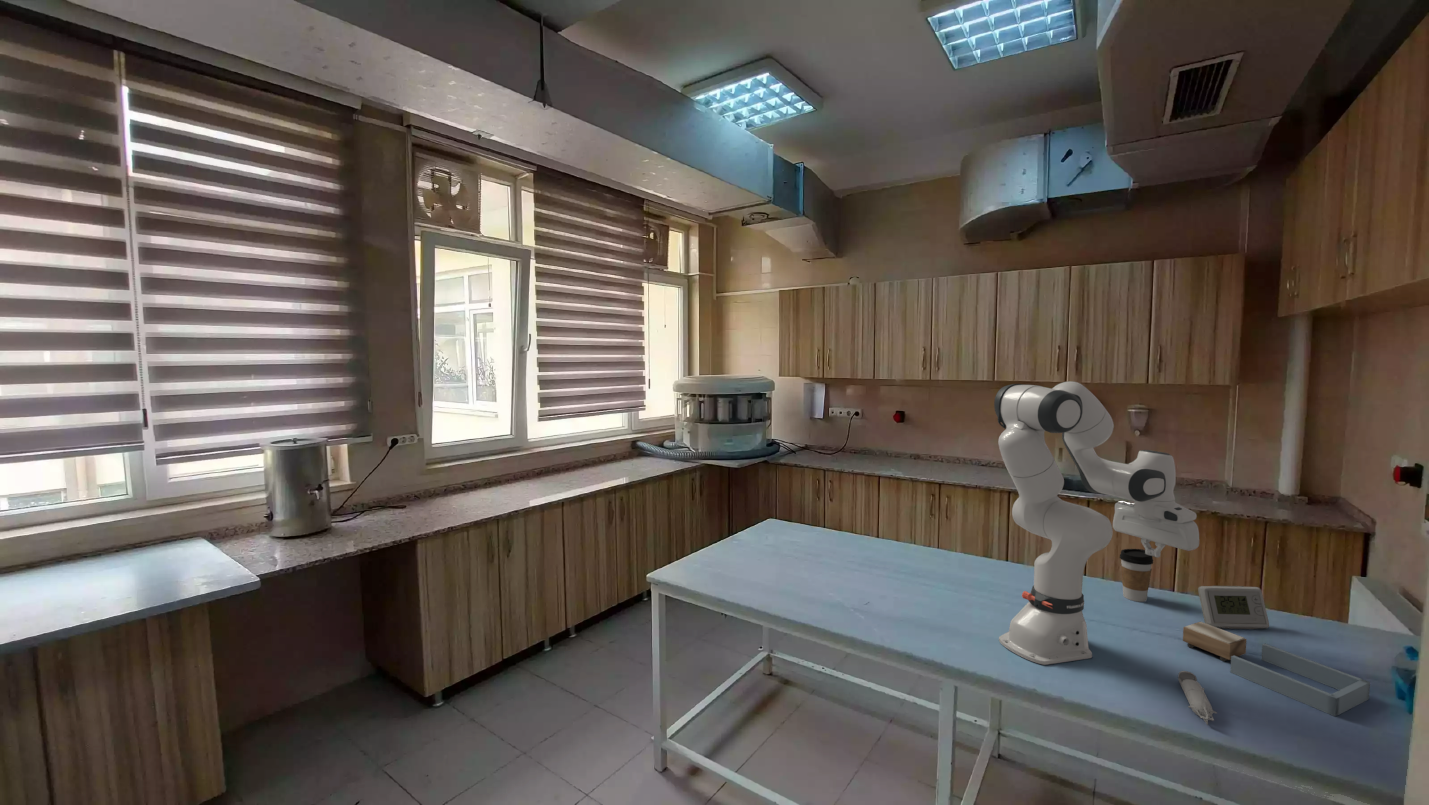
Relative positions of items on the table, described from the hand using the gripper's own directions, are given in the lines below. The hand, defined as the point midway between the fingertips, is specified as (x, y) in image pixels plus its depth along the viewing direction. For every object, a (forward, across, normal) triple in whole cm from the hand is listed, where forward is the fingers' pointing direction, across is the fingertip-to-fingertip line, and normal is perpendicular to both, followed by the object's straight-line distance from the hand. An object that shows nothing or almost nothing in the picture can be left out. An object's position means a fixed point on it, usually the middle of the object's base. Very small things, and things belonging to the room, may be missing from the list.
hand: (1152, 555), depth 155 cm
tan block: (+20, +15, 0) cm, 25 cm away
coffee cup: (+21, -13, +14) cm, 29 cm away
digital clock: (+21, +9, +20) cm, 31 cm away
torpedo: (+21, +26, -28) cm, 43 cm away
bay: (+20, +31, 0) cm, 37 cm away
